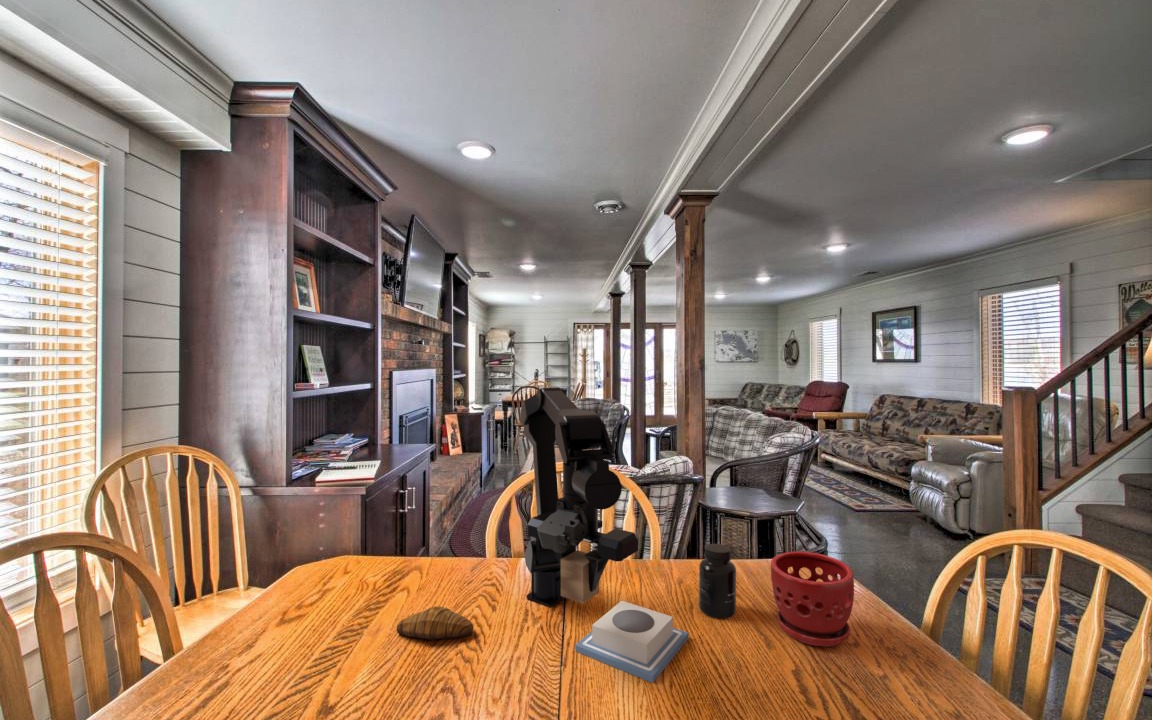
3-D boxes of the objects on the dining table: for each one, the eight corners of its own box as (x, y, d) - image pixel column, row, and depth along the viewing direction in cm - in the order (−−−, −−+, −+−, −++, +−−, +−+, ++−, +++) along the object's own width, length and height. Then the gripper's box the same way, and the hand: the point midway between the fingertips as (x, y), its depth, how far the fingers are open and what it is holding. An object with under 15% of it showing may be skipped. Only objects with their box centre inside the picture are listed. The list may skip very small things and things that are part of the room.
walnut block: (560, 595, 80) (560, 558, 80) (577, 585, 84) (577, 550, 83) (583, 604, 77) (583, 565, 77) (599, 593, 81) (599, 556, 81)
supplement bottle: (738, 622, 90) (738, 556, 90) (699, 618, 91) (699, 553, 91) (734, 603, 97) (734, 542, 97) (698, 600, 98) (698, 540, 98)
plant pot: (780, 606, 96) (780, 544, 96) (857, 627, 88) (858, 560, 88) (762, 637, 85) (762, 568, 85) (848, 665, 77) (848, 589, 77)
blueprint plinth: (575, 651, 81) (575, 626, 81) (617, 614, 93) (617, 592, 93) (652, 683, 73) (652, 655, 73) (688, 638, 85) (688, 614, 85)
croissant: (388, 645, 83) (388, 615, 83) (404, 623, 90) (404, 596, 90) (467, 647, 83) (467, 617, 83) (477, 625, 89) (477, 598, 89)
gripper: (504, 492, 79) (504, 589, 80) (600, 515, 68) (600, 627, 68) (548, 478, 88) (548, 565, 88) (640, 496, 77) (640, 595, 77)
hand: (580, 586), depth 80 cm, fingers closed on walnut block, 4 cm apart
